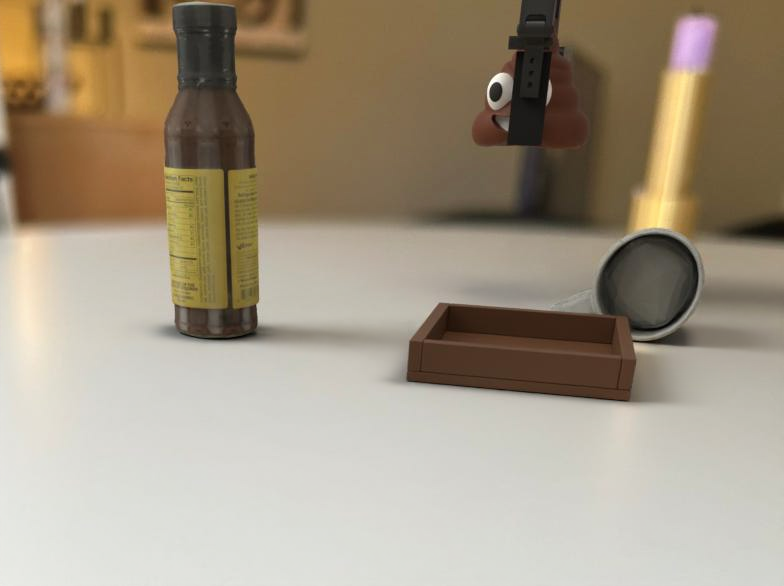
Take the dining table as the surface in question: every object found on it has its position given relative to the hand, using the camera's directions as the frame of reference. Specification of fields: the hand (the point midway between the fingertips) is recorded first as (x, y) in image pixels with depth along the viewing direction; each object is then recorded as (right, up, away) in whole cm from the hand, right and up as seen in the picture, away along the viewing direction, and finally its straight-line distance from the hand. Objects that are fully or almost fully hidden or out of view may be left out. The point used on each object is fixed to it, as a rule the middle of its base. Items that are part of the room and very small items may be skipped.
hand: (527, 144), depth 84 cm
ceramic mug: (+6, -18, -7) cm, 21 cm away
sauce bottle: (-25, -20, -12) cm, 34 cm away
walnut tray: (-5, -24, -19) cm, 31 cm away
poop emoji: (0, 0, 0) cm, 1 cm away
